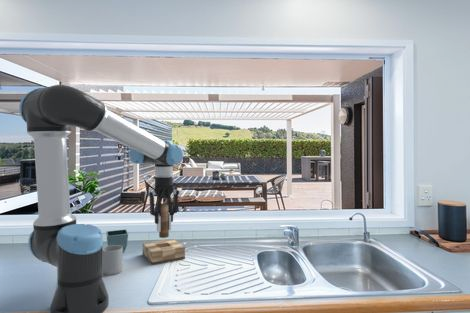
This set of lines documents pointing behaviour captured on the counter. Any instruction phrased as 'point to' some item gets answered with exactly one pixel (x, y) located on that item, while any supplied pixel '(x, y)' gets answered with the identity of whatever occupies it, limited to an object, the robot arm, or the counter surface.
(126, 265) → the counter surface
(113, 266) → the cup
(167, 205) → the pin
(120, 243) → the flower pot
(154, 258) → the socket block
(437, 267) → the counter surface
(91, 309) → the robot arm
